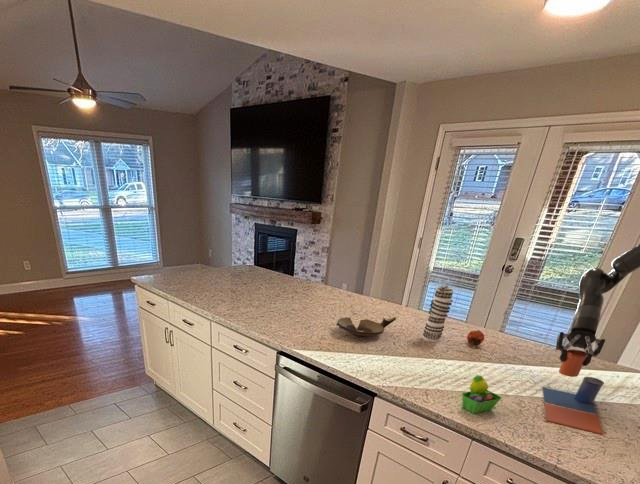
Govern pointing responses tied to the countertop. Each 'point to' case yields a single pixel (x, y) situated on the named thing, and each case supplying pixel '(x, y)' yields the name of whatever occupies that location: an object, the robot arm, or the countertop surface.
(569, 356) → the terracotta canister
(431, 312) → the striped cylindrical tower
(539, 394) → the countertop surface
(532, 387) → the countertop surface
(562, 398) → the blue mat
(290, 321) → the countertop surface
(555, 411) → the terracotta mat
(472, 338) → the pomegranate
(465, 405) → the fruit basket
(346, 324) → the oil lamp
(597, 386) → the blue canister
